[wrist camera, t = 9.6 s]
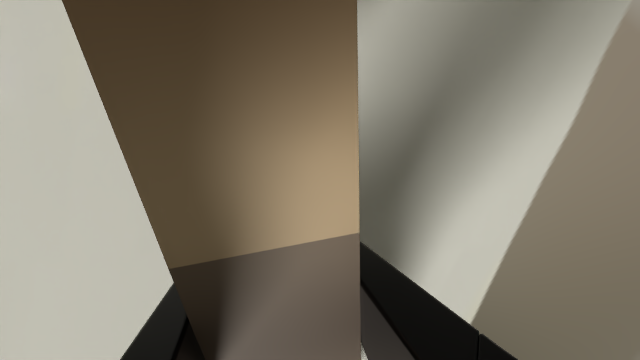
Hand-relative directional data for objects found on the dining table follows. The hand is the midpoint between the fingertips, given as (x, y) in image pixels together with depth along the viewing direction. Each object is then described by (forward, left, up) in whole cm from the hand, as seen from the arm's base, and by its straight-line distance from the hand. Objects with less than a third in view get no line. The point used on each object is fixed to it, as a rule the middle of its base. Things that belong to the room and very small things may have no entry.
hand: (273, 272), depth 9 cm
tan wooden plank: (+3, 0, -1) cm, 3 cm away
